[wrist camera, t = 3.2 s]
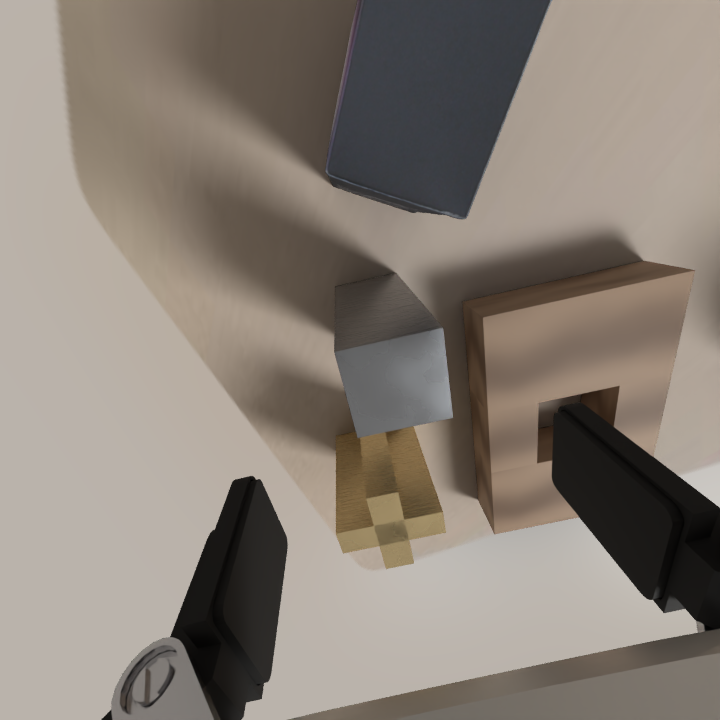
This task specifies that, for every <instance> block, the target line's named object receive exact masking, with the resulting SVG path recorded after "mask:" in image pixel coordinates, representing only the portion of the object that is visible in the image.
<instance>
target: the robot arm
mask: <svg viewBox="0 0 720 720" xmlns="http://www.w3.org/2000/svg"><path fill="white" fill-rule="evenodd" d="M552 481H553V484H554V486H555V487H556V489H557V490H558V491H559V493H560V494H561V495H562V496H563V498H564V499H565V500H566V501H567V503H568V504H569V505H570V506H571V508H572V509H573V510H574V511H575V512H576V514H577V515H578V516H579V517H580V519H581V520H582V521H583V522H584V524H585V525H586V526H587V527H588V528H589V530H590V531H591V532H592V533H593V535H594V536H595V537H596V538H597V540H598V541H599V542H600V543H601V544H602V546H603V547H604V548H605V549H606V551H607V552H608V553H609V554H610V556H611V557H612V558H613V559H614V561H615V562H616V563H617V564H618V566H619V567H620V568H621V569H622V570H623V571H624V573H625V574H626V575H627V576H628V578H629V579H630V580H631V582H632V583H633V584H634V585H635V586H636V588H637V589H638V590H639V591H640V593H641V594H643V596H644V597H646V598H647V599H649V600H654V602H655V603H656V604H657V605H658V607H659V608H660V609H661V610H662V611H663V613H667V612H672V611H676V610H681V609H686V610H687V611H688V612H689V613H690V615H691V616H692V617H693V618H694V619H695V620H696V623H697V630H698V633H695V634H690V635H684V636H679V637H673V638H667V639H662V640H657V641H652V642H647V643H642V644H637V645H633V646H628V647H623V648H618V649H613V650H608V651H603V652H598V653H593V654H589V655H584V656H579V657H575V658H569V659H565V660H559V661H555V662H550V663H546V664H541V665H536V666H531V667H526V668H521V669H517V670H512V671H508V672H503V673H498V674H493V675H488V676H484V677H479V678H475V679H470V680H465V681H460V682H455V683H451V684H446V685H441V686H437V687H432V688H427V689H423V690H418V691H414V692H409V693H404V694H400V695H395V696H391V697H386V698H382V699H377V700H372V701H368V702H363V703H359V704H354V705H349V706H345V707H340V708H336V709H331V710H327V711H322V712H318V713H314V714H310V715H306V716H302V717H298V718H294V719H289V720H720V508H719V507H718V506H716V505H715V504H714V503H713V502H712V501H710V500H709V499H707V498H706V497H705V496H704V495H702V494H701V493H700V492H698V491H697V490H696V489H694V488H693V487H692V486H691V485H689V484H688V483H687V482H685V481H684V480H683V479H681V478H680V477H679V476H677V475H676V474H675V473H674V472H672V471H671V470H670V469H668V468H667V467H666V466H664V465H663V464H662V463H660V462H659V461H658V460H657V459H655V458H654V457H653V456H651V455H650V454H649V453H647V452H646V451H645V450H643V449H642V448H641V447H639V446H638V445H637V444H636V443H634V442H633V441H632V440H630V439H629V438H628V437H626V436H625V435H624V434H622V433H621V432H620V431H619V430H617V429H616V428H615V427H613V426H612V425H611V424H609V423H608V422H607V421H605V420H604V419H603V418H602V417H600V416H599V415H598V414H596V413H595V412H594V411H592V410H591V409H590V408H588V407H587V406H586V405H584V404H583V403H575V404H570V405H566V406H562V407H560V408H559V409H558V412H557V413H555V414H554V427H553V452H552ZM286 555H287V537H286V534H285V532H284V530H283V528H282V525H281V523H280V521H279V520H278V517H277V514H276V512H275V510H274V508H273V505H272V503H271V501H270V499H269V497H268V494H267V492H266V490H265V488H264V486H263V483H262V481H261V480H260V479H258V480H256V479H255V478H254V477H253V476H249V477H245V478H241V479H236V480H234V481H233V482H232V485H231V487H230V490H229V492H228V495H227V498H226V501H225V504H224V507H223V509H222V512H221V514H220V517H219V520H218V523H217V525H216V528H215V530H213V531H212V532H211V533H210V535H209V537H208V539H207V541H206V544H205V547H204V549H203V552H202V554H201V557H200V560H199V562H198V565H197V568H196V570H195V573H194V576H193V579H192V581H191V583H190V586H189V589H188V591H187V594H186V597H185V599H184V602H183V605H182V607H181V610H180V613H179V615H178V618H177V621H176V623H175V626H174V629H173V631H172V634H171V636H170V637H169V638H162V639H160V640H158V641H156V642H153V643H152V644H150V645H149V646H148V647H146V648H145V649H144V650H142V651H141V652H140V653H139V654H138V655H137V656H136V657H135V658H134V659H133V660H132V661H131V663H130V664H129V666H128V667H127V668H126V670H125V671H124V673H123V674H122V676H121V678H120V680H119V682H118V684H117V686H116V688H115V691H114V695H113V698H112V709H111V711H110V712H108V713H107V715H106V716H105V717H104V718H103V719H102V720H241V719H242V718H243V716H244V711H245V705H246V702H250V701H254V700H259V699H262V693H263V686H264V683H265V682H268V681H269V679H270V676H271V671H272V663H273V655H274V648H275V640H276V632H277V625H278V616H279V609H280V602H281V594H282V586H283V578H284V571H285V563H286Z"/></svg>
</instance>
